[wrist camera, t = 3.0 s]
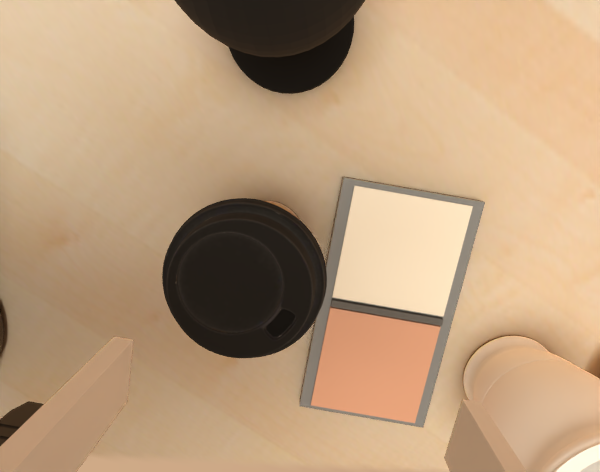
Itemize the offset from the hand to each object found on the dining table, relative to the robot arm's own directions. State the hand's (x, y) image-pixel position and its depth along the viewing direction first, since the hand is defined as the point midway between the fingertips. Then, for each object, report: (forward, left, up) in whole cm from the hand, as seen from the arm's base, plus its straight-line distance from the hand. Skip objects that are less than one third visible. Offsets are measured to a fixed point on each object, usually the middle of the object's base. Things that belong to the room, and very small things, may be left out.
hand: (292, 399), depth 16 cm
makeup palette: (+8, -3, -21) cm, 23 cm away
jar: (+21, -8, -21) cm, 31 cm away
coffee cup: (-3, +2, -21) cm, 22 cm away
